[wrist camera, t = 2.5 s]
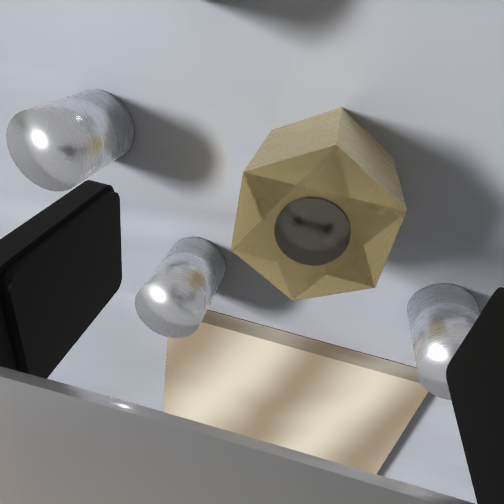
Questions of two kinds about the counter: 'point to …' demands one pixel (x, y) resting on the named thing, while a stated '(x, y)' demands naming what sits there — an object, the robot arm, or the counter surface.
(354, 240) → the brass nut
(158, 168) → the counter surface
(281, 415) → the pad
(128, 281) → the counter surface
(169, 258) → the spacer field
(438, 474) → the counter surface
